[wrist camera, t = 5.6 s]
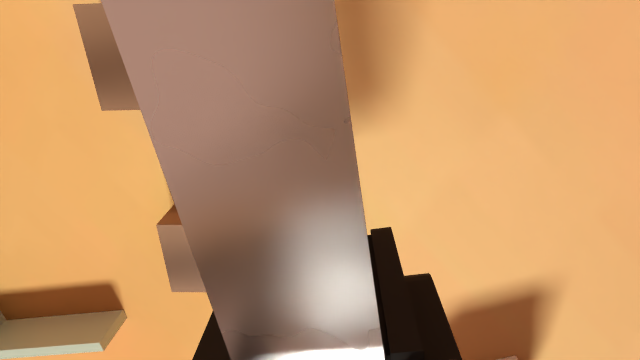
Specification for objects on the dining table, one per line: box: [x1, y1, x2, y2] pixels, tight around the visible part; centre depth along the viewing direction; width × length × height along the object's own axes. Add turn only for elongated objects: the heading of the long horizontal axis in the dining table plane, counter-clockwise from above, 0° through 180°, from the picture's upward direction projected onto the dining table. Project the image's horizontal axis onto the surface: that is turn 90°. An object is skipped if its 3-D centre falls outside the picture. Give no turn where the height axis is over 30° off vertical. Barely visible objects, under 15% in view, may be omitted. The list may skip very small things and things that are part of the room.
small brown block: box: [156, 204, 206, 292], centre depth 24 cm, size 5×4×3 cm
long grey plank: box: [101, 0, 385, 360], centre depth 9 cm, size 20×2×5 cm, turn 10°
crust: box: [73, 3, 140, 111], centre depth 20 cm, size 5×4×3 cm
